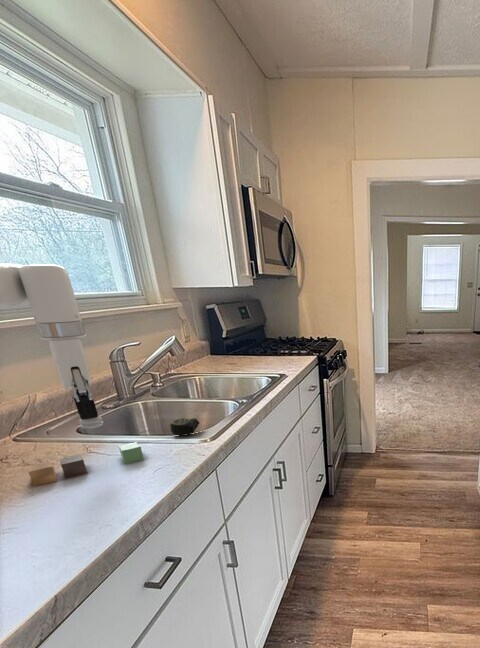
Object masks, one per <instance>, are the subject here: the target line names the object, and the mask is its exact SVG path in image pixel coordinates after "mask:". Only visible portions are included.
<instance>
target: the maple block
mask: <svg viewBox="0 0 480 648" xmlns="http://www.w3.org/2000/svg"><path fill="white" fill-rule="evenodd" d="M27 472H28V475H29V478H30V480H31V483H32V486H33V487H37V486H40V485H45V484H50V483H53V482H57V481H58V477H57V473H56V469H55V468H54V465H53V462H52V460H48V461H43V462H39V463H34V464H29V465H28V466H27Z"/></svg>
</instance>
